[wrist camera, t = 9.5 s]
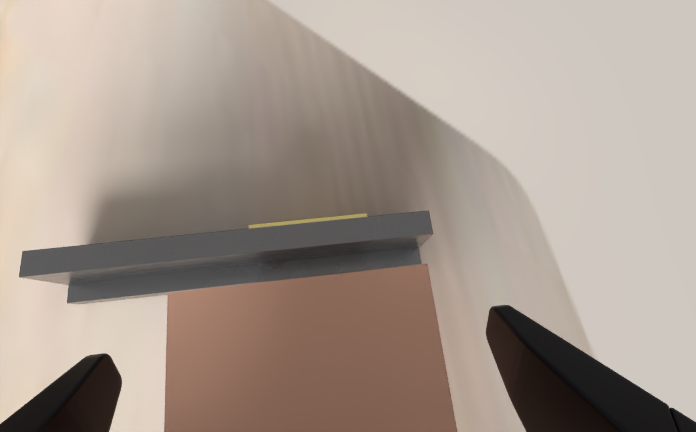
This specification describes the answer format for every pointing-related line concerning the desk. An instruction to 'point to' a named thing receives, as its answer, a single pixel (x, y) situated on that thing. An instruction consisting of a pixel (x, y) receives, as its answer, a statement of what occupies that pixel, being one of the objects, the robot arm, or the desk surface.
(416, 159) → the desk surface
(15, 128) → the desk surface
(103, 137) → the desk surface
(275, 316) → the carton
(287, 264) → the rail
